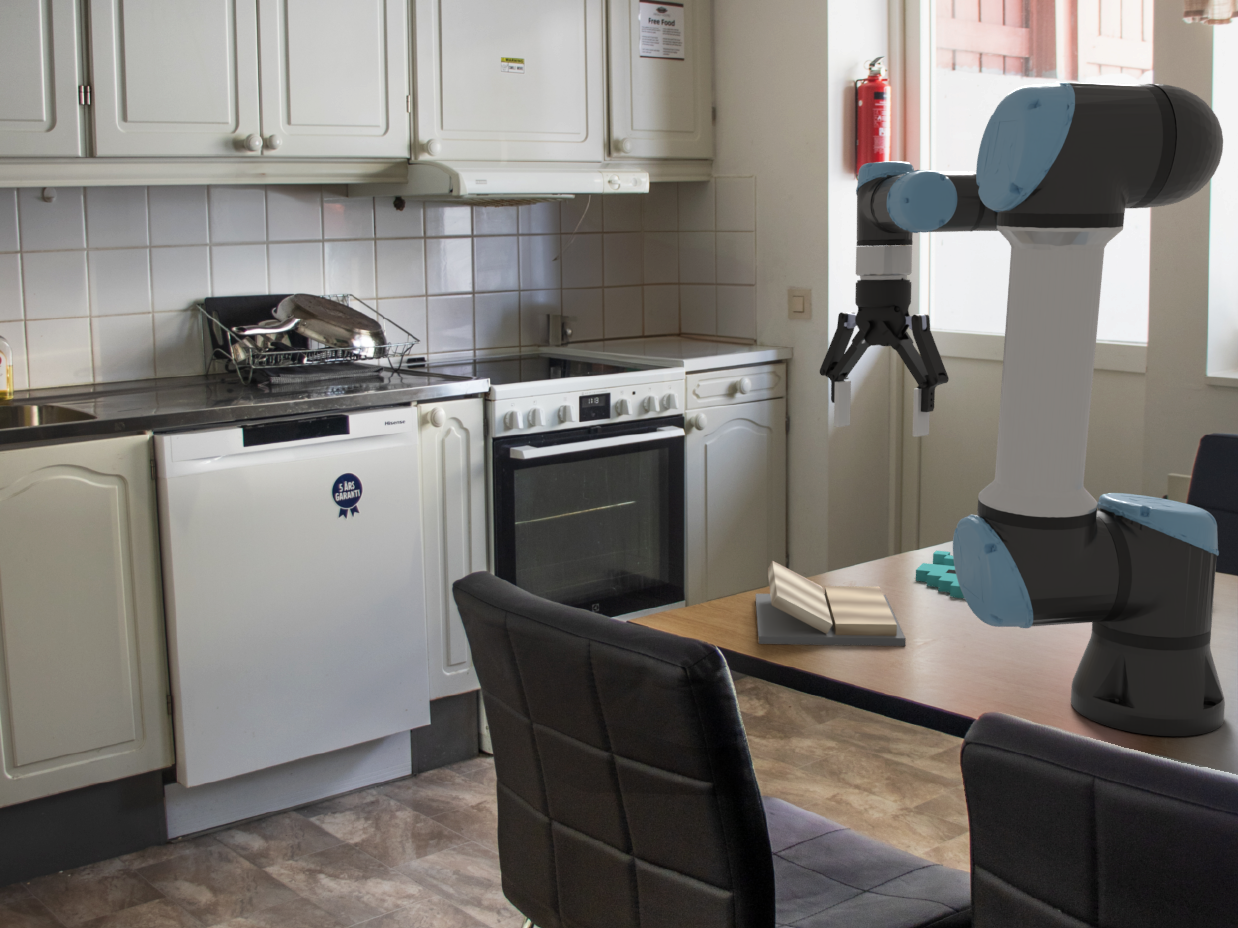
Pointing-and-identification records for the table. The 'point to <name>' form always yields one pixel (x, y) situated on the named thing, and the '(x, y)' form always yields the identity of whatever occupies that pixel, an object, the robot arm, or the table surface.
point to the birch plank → (798, 597)
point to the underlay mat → (810, 629)
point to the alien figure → (940, 574)
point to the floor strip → (859, 611)
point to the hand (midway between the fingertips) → (880, 431)
